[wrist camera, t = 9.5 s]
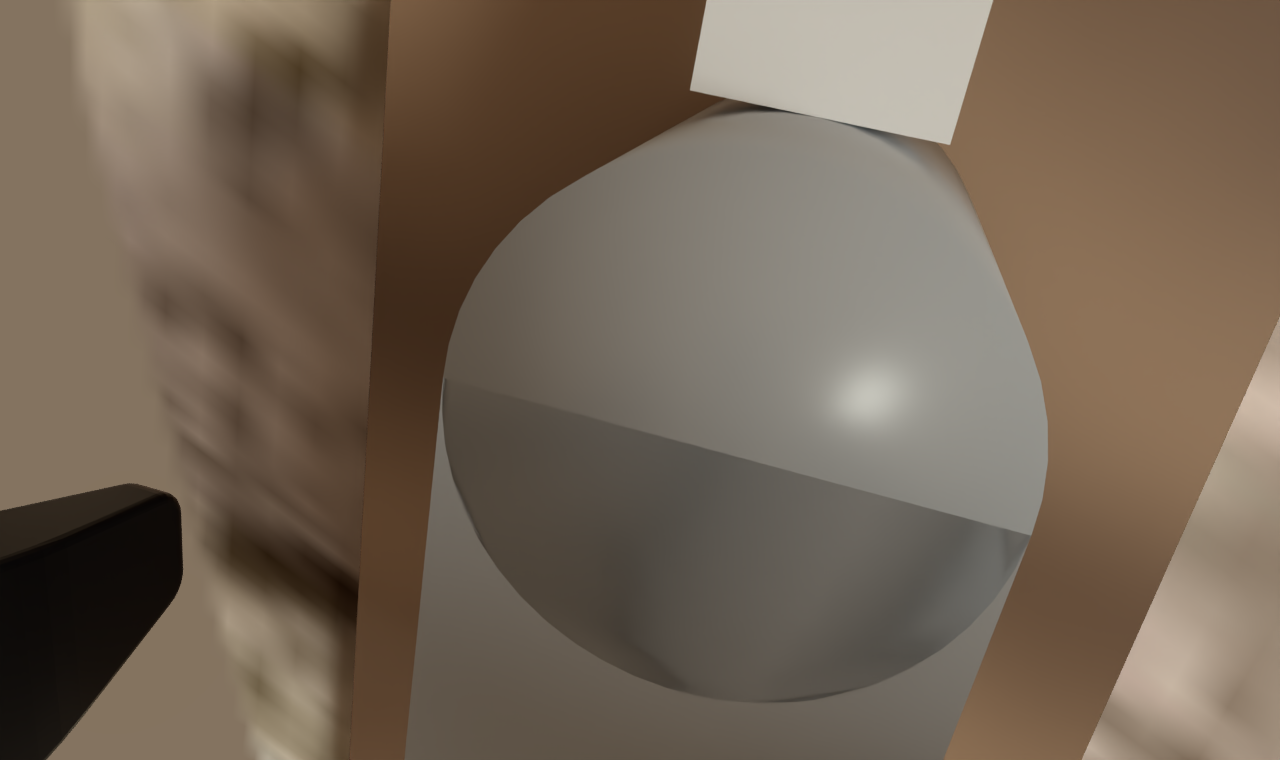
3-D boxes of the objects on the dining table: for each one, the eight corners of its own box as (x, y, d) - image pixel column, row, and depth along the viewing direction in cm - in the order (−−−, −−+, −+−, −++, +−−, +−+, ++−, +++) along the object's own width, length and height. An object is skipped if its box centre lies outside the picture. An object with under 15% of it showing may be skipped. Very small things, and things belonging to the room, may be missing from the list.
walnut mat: (961, 971, 15) (965, 1020, 14) (370, 776, 17) (346, 811, 16) (1473, -214, 9) (1526, -234, 8) (444, -347, 10) (410, -371, 10)
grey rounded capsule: (816, 781, 13) (777, 1178, 9) (544, 695, 14) (377, 1026, 9) (1119, -138, 9) (1356, -285, 4) (698, -206, 10) (521, -397, 5)
